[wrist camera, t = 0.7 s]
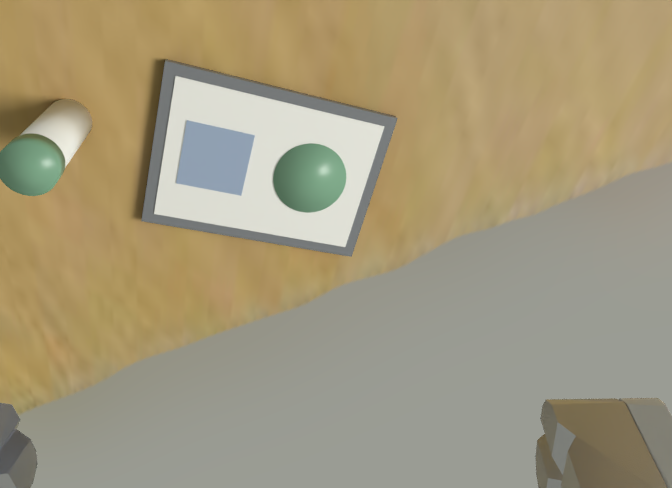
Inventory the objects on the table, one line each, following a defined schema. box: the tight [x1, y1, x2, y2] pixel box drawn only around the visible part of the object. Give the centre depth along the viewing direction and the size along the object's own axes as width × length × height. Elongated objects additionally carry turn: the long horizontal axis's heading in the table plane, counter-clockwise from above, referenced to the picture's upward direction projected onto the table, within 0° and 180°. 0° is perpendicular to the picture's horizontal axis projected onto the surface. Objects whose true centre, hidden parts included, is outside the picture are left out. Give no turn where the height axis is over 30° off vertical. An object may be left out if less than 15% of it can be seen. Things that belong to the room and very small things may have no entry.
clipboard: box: [142, 59, 397, 256], centre depth 53 cm, size 15×21×1 cm
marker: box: [0, 99, 92, 196], centre depth 43 cm, size 4×4×12 cm
